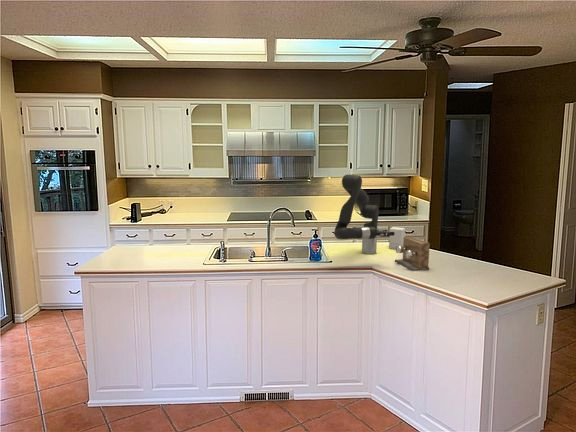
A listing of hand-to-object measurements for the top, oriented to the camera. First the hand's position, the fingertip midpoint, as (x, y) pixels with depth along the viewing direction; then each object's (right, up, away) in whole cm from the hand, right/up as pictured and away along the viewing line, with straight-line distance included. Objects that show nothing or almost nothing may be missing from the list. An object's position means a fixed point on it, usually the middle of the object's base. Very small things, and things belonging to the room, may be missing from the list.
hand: (390, 232), depth 268 cm
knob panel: (+13, -20, 0) cm, 24 cm away
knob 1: (+9, -13, +4) cm, 16 cm away
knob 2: (+12, -15, -7) cm, 20 cm away
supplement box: (+15, -14, +46) cm, 50 cm away
